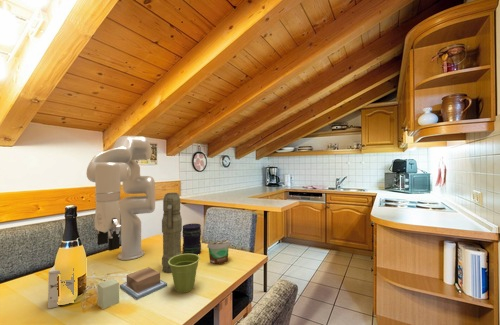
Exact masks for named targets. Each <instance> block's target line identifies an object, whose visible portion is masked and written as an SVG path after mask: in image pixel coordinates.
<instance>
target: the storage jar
mask: <svg viewBox="0 0 500 325" xmlns="http://www.w3.org/2000/svg"><path fill="white" fill-rule="evenodd" d="M181 233H182V237H183V238H182V241H183V242H182V254H196V255H198V254H199V255H200V254H201V253H202V242H201V235H202V228H201V224H200V223H187V224H186V223H185V224H182V231H181ZM199 255H198V256H199Z"/></svg>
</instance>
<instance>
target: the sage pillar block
mask: <svg viewBox="0 0 500 325" xmlns="http://www.w3.org/2000/svg"><path fill="white" fill-rule="evenodd" d="M96 286H97V290H96V291H97V294H96V295H97V306H99V307H100V308H101V309H102V310H105V309H108V308H109V307H110V308H111V307H112V306H114V305H117V304H119V303H120V281H118V280H116V279H115V278H110V279H108V280H104V281H101V282H99V283H98V282H97V285H96Z"/></svg>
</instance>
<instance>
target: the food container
mask: <svg viewBox="0 0 500 325" xmlns="http://www.w3.org/2000/svg"><path fill="white" fill-rule="evenodd" d="M230 245H231V242H230V238H227V237H226V239H224V240H219V241H216V242H214V243H209V242H207V246H206V248H207V249H208V257H209V264H210V265H215V266H216V265H224V264H225V263H226V264H227V262H228V260H229V259H228V258H229V249H230V248H229V246H230Z"/></svg>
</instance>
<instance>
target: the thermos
mask: <svg viewBox="0 0 500 325" xmlns="http://www.w3.org/2000/svg"><path fill="white" fill-rule="evenodd" d="M162 206H163V207H162V208H163V210H162V211H163V216H162V219H161V233H162V242H163V243H162V257H161V265H162V273H165V274H172V271H171V268H170V265H169V264H168V261H169V259H170V258H172V257H174V256H177V255H180V254H183V252H182V231H183V220H182V215H181V198H180V195H179V193H177V192H167V193H165V194H164V197H163V200H162Z"/></svg>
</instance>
